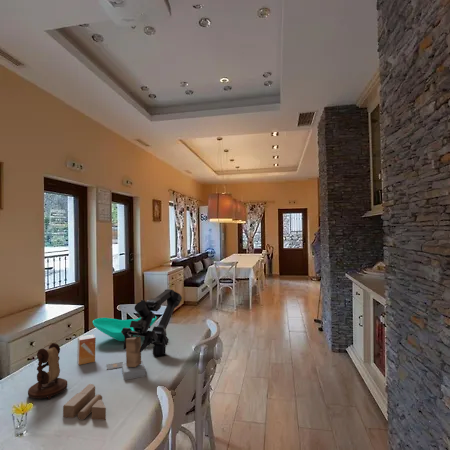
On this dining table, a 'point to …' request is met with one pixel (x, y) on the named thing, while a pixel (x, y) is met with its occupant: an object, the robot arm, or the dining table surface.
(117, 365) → the card
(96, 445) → the dining table surface
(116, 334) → the table top decor
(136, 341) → the walnut column
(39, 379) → the scroll
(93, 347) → the small box
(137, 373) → the slate block
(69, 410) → the wooden block set
